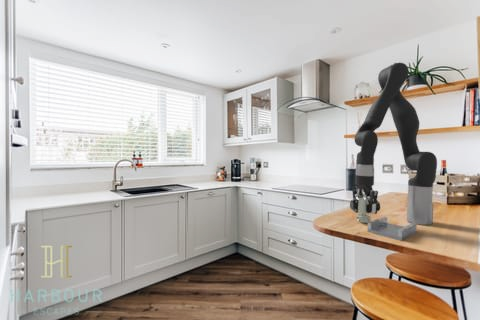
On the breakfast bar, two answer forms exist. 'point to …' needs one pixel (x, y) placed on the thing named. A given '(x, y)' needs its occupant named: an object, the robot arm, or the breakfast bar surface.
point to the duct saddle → (391, 229)
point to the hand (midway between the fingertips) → (363, 210)
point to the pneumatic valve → (363, 209)
